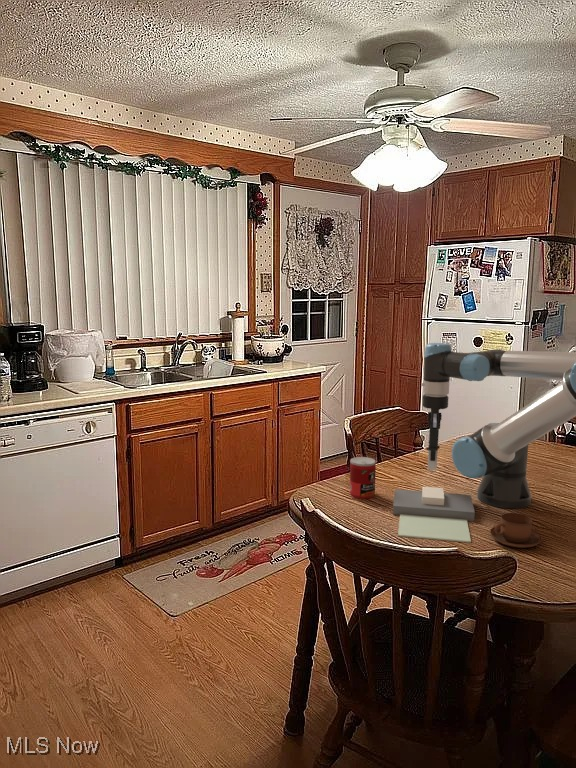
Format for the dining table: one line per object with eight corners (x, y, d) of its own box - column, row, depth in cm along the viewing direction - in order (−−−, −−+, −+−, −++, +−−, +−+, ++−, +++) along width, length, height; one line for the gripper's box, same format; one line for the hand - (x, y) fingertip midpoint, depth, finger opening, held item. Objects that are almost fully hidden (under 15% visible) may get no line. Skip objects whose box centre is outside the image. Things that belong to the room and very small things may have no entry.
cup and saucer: (523, 556, 138) (524, 532, 137) (480, 539, 147) (481, 516, 146) (550, 543, 145) (552, 520, 144) (508, 528, 154) (509, 506, 153)
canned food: (363, 501, 174) (363, 465, 172) (344, 494, 180) (344, 459, 178) (380, 495, 178) (381, 460, 177) (361, 488, 184) (362, 455, 183)
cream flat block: (422, 492, 173) (422, 486, 173) (442, 494, 172) (443, 488, 171) (422, 503, 164) (422, 496, 164) (444, 505, 163) (444, 498, 163)
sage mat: (466, 521, 158) (466, 519, 158) (470, 542, 145) (470, 541, 145) (399, 515, 162) (400, 514, 162) (397, 536, 149) (397, 534, 149)
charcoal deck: (470, 502, 172) (470, 494, 171) (474, 521, 158) (474, 512, 158) (395, 497, 177) (395, 489, 176) (392, 514, 163) (393, 505, 163)
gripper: (422, 390, 181) (419, 462, 185) (422, 397, 169) (419, 475, 173) (447, 391, 180) (443, 464, 184) (449, 399, 167) (445, 477, 171)
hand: (432, 469), depth 178 cm, fingers closed
